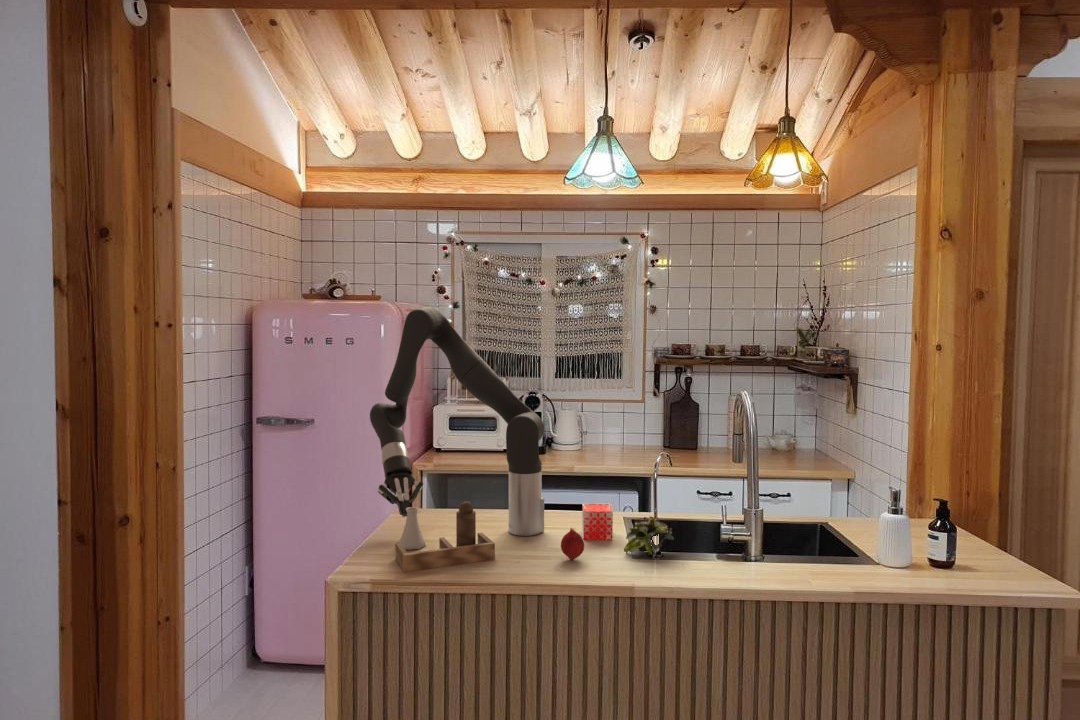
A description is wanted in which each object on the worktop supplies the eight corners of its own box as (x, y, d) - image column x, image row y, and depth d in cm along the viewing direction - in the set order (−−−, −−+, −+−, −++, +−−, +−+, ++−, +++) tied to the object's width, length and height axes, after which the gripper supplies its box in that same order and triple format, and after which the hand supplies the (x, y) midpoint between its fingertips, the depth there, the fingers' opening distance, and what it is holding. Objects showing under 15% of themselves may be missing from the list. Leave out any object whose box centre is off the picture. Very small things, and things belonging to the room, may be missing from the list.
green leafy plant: (650, 570, 181) (675, 530, 183) (659, 577, 170) (686, 535, 172) (614, 545, 182) (639, 506, 183) (621, 550, 171) (648, 509, 172)
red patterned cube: (612, 540, 188) (612, 511, 188) (583, 540, 189) (583, 511, 188) (610, 531, 196) (610, 503, 196) (582, 531, 196) (582, 503, 196)
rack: (482, 547, 182) (482, 532, 181) (494, 559, 173) (494, 543, 173) (395, 559, 173) (395, 543, 172) (404, 572, 164) (404, 555, 164)
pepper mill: (472, 551, 179) (472, 498, 178) (478, 557, 174) (478, 502, 173) (454, 553, 177) (453, 500, 176) (459, 559, 172) (459, 504, 171)
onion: (587, 557, 174) (587, 526, 174) (578, 565, 169) (579, 532, 168) (566, 554, 177) (566, 523, 176) (557, 561, 171) (557, 529, 171)
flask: (429, 542, 186) (429, 505, 185) (421, 551, 179) (421, 512, 178) (402, 541, 187) (402, 504, 186) (394, 550, 179) (394, 511, 179)
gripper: (374, 455, 194) (382, 510, 183) (421, 452, 199) (432, 505, 189) (371, 470, 199) (379, 524, 189) (416, 467, 204) (427, 519, 194)
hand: (405, 515), depth 189 cm, fingers closed
